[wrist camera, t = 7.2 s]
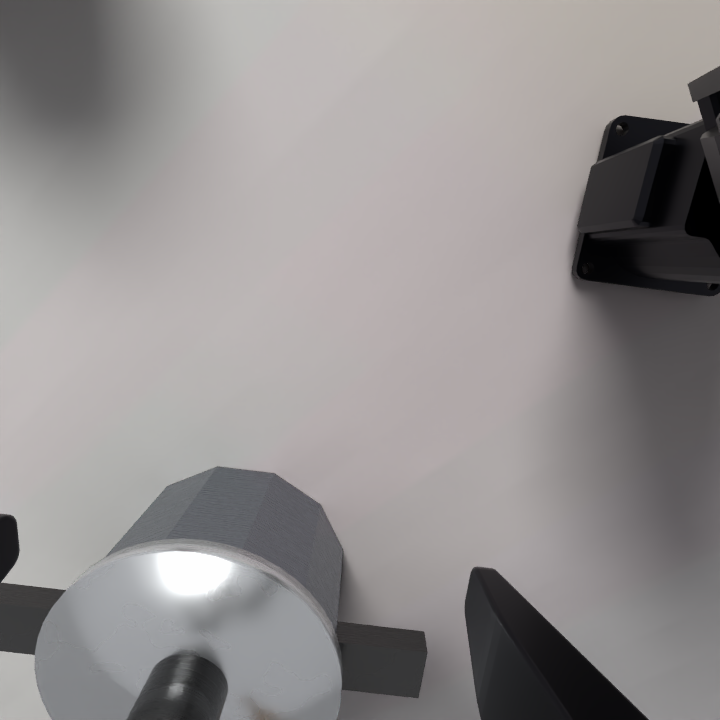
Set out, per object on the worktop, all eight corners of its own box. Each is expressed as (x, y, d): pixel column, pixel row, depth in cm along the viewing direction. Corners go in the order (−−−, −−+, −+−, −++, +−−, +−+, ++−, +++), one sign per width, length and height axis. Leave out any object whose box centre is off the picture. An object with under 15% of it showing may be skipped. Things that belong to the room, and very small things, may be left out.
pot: (426, 491, 21) (448, 578, 16) (395, 661, 24) (404, 790, 18) (63, 447, 21) (-52, 519, 15) (70, 624, 24) (-26, 743, 18)
